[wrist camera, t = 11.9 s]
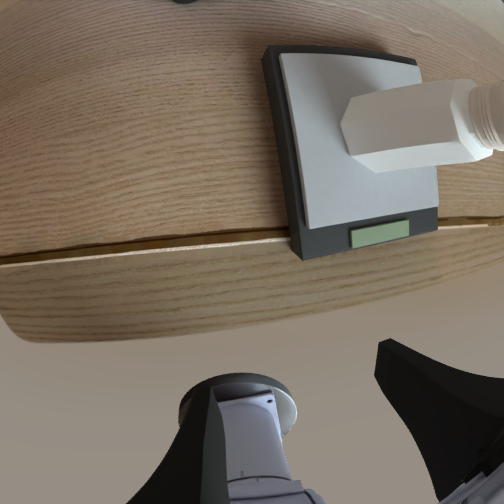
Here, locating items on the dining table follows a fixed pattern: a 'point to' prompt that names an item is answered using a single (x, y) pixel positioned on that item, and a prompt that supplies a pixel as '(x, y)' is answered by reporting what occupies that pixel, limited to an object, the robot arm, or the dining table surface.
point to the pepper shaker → (425, 124)
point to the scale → (340, 152)
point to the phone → (184, 1)
